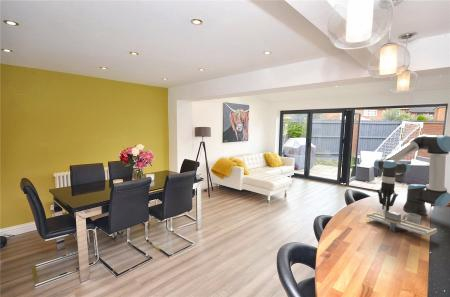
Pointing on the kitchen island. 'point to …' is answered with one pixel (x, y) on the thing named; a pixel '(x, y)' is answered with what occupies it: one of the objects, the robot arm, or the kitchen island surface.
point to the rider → (393, 216)
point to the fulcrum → (395, 227)
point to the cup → (413, 218)
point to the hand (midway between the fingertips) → (385, 214)
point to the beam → (403, 224)
